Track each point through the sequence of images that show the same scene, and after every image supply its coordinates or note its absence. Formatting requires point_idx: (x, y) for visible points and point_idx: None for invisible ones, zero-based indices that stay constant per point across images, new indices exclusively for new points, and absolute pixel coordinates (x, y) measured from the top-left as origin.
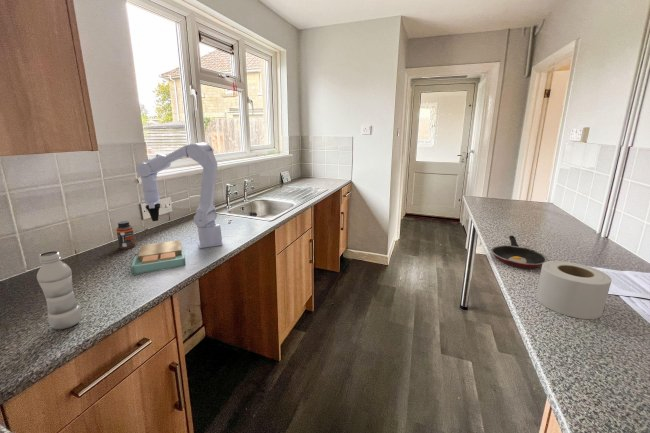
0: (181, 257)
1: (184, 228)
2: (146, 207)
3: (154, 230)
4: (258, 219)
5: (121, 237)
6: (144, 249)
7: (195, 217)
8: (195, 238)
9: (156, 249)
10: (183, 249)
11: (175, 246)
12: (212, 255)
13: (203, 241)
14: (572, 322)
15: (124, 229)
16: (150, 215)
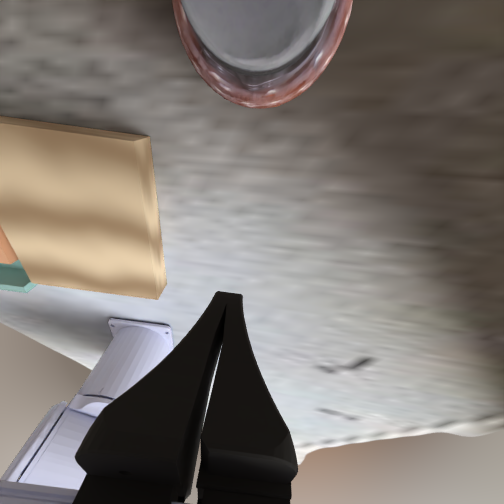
0: (18, 266)
1: (385, 325)
2: (84, 439)
3: (489, 225)
4: (305, 445)
5: None
6: (53, 155)
7: (17, 454)
8: None
9: (48, 208)
10: (20, 291)
11: (77, 274)
12: (45, 327)
13: (109, 345)
14: None
15: (173, 2)
16: (191, 329)
